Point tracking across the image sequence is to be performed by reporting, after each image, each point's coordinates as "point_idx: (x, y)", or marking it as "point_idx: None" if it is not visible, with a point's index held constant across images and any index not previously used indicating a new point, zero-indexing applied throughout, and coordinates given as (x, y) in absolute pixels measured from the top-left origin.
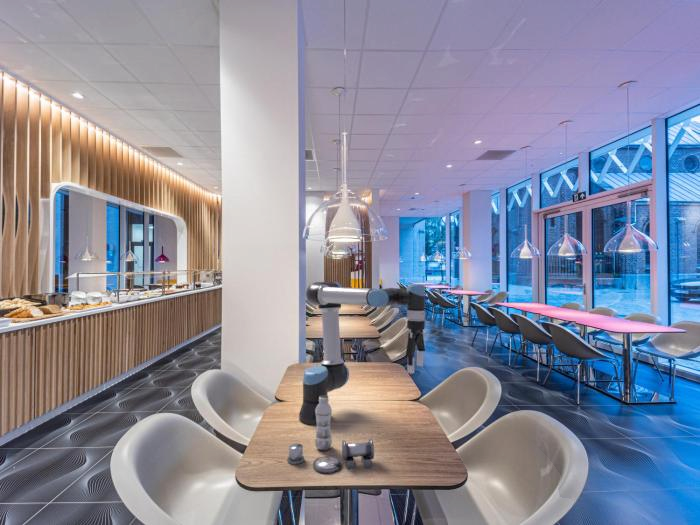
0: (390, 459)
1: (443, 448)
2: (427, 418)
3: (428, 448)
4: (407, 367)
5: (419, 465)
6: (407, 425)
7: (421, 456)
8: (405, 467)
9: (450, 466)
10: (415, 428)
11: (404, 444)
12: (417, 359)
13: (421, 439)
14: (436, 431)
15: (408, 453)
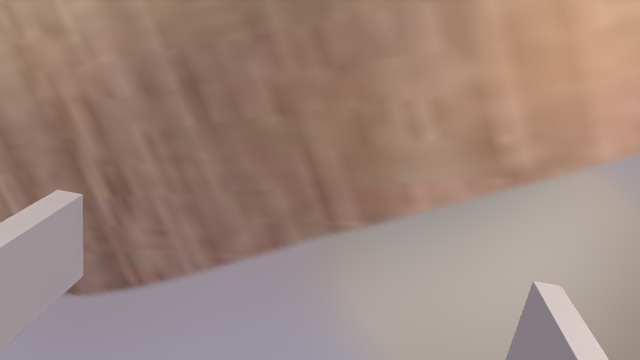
0: (40, 28)
1: (233, 238)
2: (583, 150)
3: (208, 178)
4: (7, 219)
5: (52, 154)
6: (447, 47)
7: (125, 155)
8: (11, 102)
9: (99, 262)
10: (415, 97)
11: (205, 67)
12: (566, 356)
13: (288, 141)
14: (406, 205)
15: (127, 98)
